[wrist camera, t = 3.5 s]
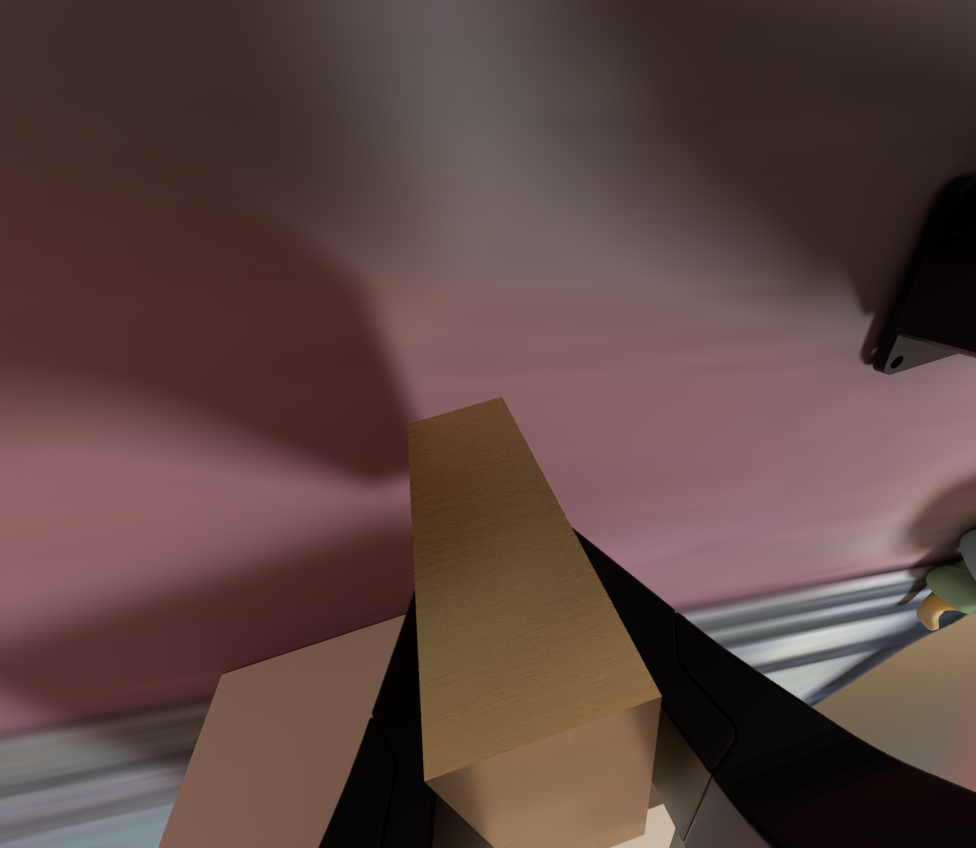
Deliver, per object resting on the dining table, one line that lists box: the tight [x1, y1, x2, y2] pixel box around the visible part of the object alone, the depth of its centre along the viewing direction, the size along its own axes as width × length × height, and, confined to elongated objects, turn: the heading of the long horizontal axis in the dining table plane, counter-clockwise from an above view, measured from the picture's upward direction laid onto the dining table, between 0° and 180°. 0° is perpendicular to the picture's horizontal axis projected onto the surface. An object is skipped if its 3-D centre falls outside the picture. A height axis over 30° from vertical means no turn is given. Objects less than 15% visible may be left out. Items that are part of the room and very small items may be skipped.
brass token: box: [407, 397, 662, 848], centre depth 7 cm, size 2×6×6 cm, turn 12°
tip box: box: [158, 614, 675, 848], centre depth 17 cm, size 16×14×8 cm
